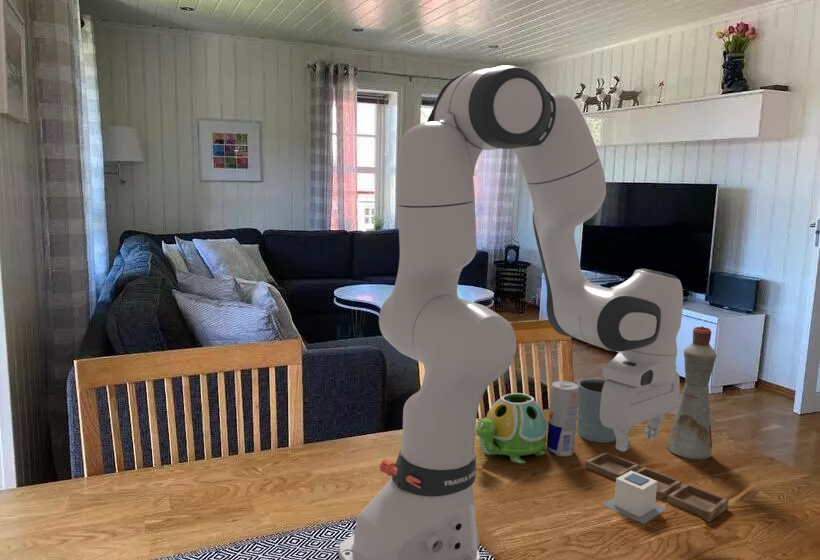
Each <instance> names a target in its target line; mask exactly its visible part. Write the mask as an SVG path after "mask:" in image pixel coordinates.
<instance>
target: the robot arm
mask: <svg viewBox="0 0 820 560" xmlns="http://www.w3.org/2000/svg"><path fill="white" fill-rule="evenodd" d="M483 150H484V151H494V150H512V151H513V152H514V154H515V155H516V157H517V158H518V160H519V162H520V163H521V168H522V171H523V174H524V177H525V181H526V185H527V186H528V190H529V195H530V198H531V201H532V207H533V213H532V225H533V231H534V236H535V241H536V246H537V249H538V254H539V259H540V262H541V268H542V271H543V275H544V280H545V285H546V315H547V320H548V322H549V324H550V325H551V328H552V329H553V330H554V331H556V332H557V333H558V334H560V335H562V336H565V337H568V338H572V339H576V340H580V341H582V342H585V343H588V344H590V345H592V346H596V347H599V348H602V349H604V350H607V351H611V352H617V354H616V355H615V356H614V357H613V358H612V359H611V360H610V361H609V362H607V363H606V364H605V365H604V366H603V368H602V378H604V379H606V381H605V383H604V385H603V389H602V395H601V404H600V420H601V423H602V425H604V426H606V427H608V428H611V429H613V430H614V433H615V437H616V440H615V449H616V450H618V451H620V452H627V451H628V450H630V449H631V442H632V441H631V439H629V437H628V433H630V428H632V427H634V426H637V425H639V424H642V423H645V422H647V421H648V423H647V426H645V427H644V433H643V435H644V437H645V438H646V439H649V440H654V439H657V438H658V436H659V432H660V431H659V430H660V428H661V425H662V423H663V422H664V419H665V415H666V414H669V413H672V412H674V411H675V410H676V409H677V407H678V406H679V405H678V404H679V399H680V398H679V396H680V382H681V381H680V380H681V379H680V374H679V372H678V371H677V365H676V364H677V356H678V346H677V338H678V337H677V335H678V334H679V332H680V329H681V324H682V315H683V307H684V306H683V304H684V292H683V291H684V290H683V286H682V282H681V280H680V279H679V278H678V277H677V276H676V275H673V274H671V273H670V274H669V273H666V272H662V271H656V270H652V269H648V268H638V269H634V271H633V273H632V275H631V276H630V277H628V279H627V280H624V281H623V282H622V283H620V284H617V285H616V286H611V287H610V288H608V287H604V286H600V285H597V284H594V283H592V282H591V281H590V280H589V279H588V278H586V277H585V275H584V274H583V273H582V268H581V264H580V263H581V262H580V259H579V254H578V250H577V245H576V244H577V243H576V240H575V231H576V228H577V227H578V226H580V225H581V224H583V223H585V222H587V221H588V220H590V219H592V217H594V215H596V213H598V211H599V210H600V208H601V206H602V205H603V203H604V201H605V198H606V195H607V185H606V177H605V172H604V169H603V165H602V162H601V158H600V156H599V152H598V150H597V146H596V143H595V141H594V137H593V135H592V132H591V130H590V129H589V126H588V124H587V121H586V120H585V118H584V115H583V113H582V112H581V110H580V108H579V107H578V104H577V103H576V102H575V100H574V99H573V98H571V97H570V96H568V95H565V94H561V93H550V92H549V91H548V90H547V88H546V87H545V85H544V84H543V83H542V80H540V79H539V78H538V76H536V75H535V74H534V73H532V72H530V71H529V70H528V69H526V68H524V67H520V66H516V65H506V64H505V65H499V66H495V67H482V68H477V69H475V70H472V71H468V72H466V73H464V74H460V75H458V76H456V77H453V79H450V80H449V81H448V82H447V83H446V84H445V85H444V86H443V87H442V89H441V90H440V92H439V93H438V95H437V98H436V100H435V103H434V105H433V108H432V110H431V112H430V114H429V116H428V119H427V120H426V121H424V122H421V123H419V124H417V125H414V126H412V127H411V128H410V129H408V130H407V131H406V132H405V133H404V134H403V136H402V137H401V140H400V143H399V150H398V155H397V156H398V157H397V165H396V166H397V167H396V204H397V221H398V222H397V223H398V237H399V242H398V243H399V260H398V269H397V274H396V279H395V283H394V288H393V290H392V293H391V294H390V295H389V296H388V297H387V298H386V299H385V301H384V302H383V304H382V306H381V308H380V310H379V315H378V325H379V330H380V333H381V334H382V336H383V338H384V339H385V340H386V341H387V342H388V343H389V344H390V345H391V346H392V347H393V348H394V349H396V350H397V351H398V352H399V353H400V354H402V355H404V356H406V357H408V358H410V359H413V360H415V361H417V362H419V363H421V364H423V368H424V369H423V370H424V374H423V379H422V383H421V385H420V388H419V391H417V392H415V393H414V394H412V395H411V396H410V397H408V399H407V400H406V402H405V403H404V406H403V409H402V410H403V412H402V414H403V415H402V435H401V436H402V437H401V438H402V440H401V441H402V443H401V449H400V451H399V454H398V456H397V458H396V461H395V462H392V461H391V460H390V459H388V458H385V459H382V460H381V462H380V463H379V466H378V467H379V471H380V472H381V473H385V474H386V475H387V476H391V478H390V479H389V481H388V482H387V483H386V484H384V486H383V487H382V488H381V490H380V491H379V492H378V493H376V495H375V496H374V497H373V498H372V499H371V501H370V502H369V503H368V504H367V505H365V507H364V508H363V509H361V511H360V512H359V514H358V516H357V519H356V522H355V528H354V534H352V535H351V536H349V537H347V538H346V539H344V540H343V541H341V542H340V543H339V545H338V550H337V553H338V557H339V559H340V560H481V554H480V551H479V548H478V547H480V536H479V531H478V528H477V517H476V515H477V514H476V504H475V496H474V485H473V484H474V483H475V481H476V474H477V473H476V472H477V457H476V453H474V452H475V451H474V449H475V438H476V437H475V436H476V428H477V426H476V425H477V417H478V409H479V406H480V403H481V400H482V398H483V395H485V392H486V390H487V388H488V387H489V386H490V385H491V384H492V383H493V382H495V381H497V380H499V379H500V378H501V377H502V376H503V375H505V373H507V371H508V369H509V368H510V366H511V365H512V363H513V362H514V358H515V355H516V351H517V350H516V349H517V338H516V333H515V330H514V328H513V325H512V324H511V323H510V322H509V321H508V320H507V319H506V318H504V317H503V316H502V315H500V314H498V313H497V312H496V311H494V310H492V309H491V308H489V307H487V306H485V305H483V304H480V303H477V302H473V301H470V300H468V299H464V298H463V299H462V298H459V295H458V284H459V279H460V277H461V276H460V275H461V272H462V271H463V268H465V267H466V266H468V265H469V264H470V263H471V262H472V260H473V259H474V258H475V256H476V254H477V245H478V244H477V224H476V223H477V222H476V221H477V220H476V219H477V218H476V216H477V215H476V200H475V199H476V196H475V194H476V193H475V183H474V176H475V170H476V169H475V168H476V165H477V162H478V159H479V157H480V155H481V153H482V152H483Z"/></svg>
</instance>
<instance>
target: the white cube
mask: <svg viewBox="0 0 820 560" xmlns="http://www.w3.org/2000/svg"><path fill="white" fill-rule="evenodd" d="M657 482H658V481H656V480H653V479H651V478H648V477H646V476H643V475H641V474H638V473H636V472H633V471H629V472H627V473H626V474H624V475H622V476H620V477H618V478H616V480H615V485H614V486H615V487H614V506H616V507H619V508H621V509H623V510H625V511H627V512H630V513H632V514H634V515H636V516H638V517H641V516H643V515H644V514H646V513H648V512H649V511H651V510H652V509H654V508H655V504H656V501H657V500H656V499H657V498H656V491H657Z"/></svg>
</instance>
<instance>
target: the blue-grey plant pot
mask: <svg viewBox="0 0 820 560" xmlns="http://www.w3.org/2000/svg"><path fill="white" fill-rule="evenodd" d="M606 380H607V379H606ZM606 380H605V379H598V378H587V379H586V378H585V379H582V380H581V379H580V381H578V382H577V385H578V386H579V388H578V389H579V396H578V408H577V422H576V425H577V426H576V430H577V431H576V433H577V435H578V436H579V437H581V438H582V439H585V440H587V441H590V442H595V443H604V444H605V443H611V442H612V443H613V442H616V437H615V433H614V430H613V429H611V428H608V427H606V426H604V425H602V423H601V420H600V404H601V395H602V389H603V385H604V383H605V381H606Z"/></svg>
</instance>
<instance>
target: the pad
mask: <svg viewBox="0 0 820 560" xmlns="http://www.w3.org/2000/svg"><path fill="white" fill-rule="evenodd" d="M601 506H604V507H605V508H608V509H610V510H612V511H615V512H616V513H619V514H621V515H623V516H626V517H627V518H629V519H631V520H634V521H636V522H638V523H640V524H642V525H645V524H646V523H648V522H649V521H651V520H652V519H654V518H656V517H657V516H659V515H660V514H661V513H664V512H665V511H666V510H667V509H668V508H667V507H664V506H662V505H659V504H658V503H655V508H654V509H652V510H651V511H649V512H648V513H646V514H644V515H643V516H641V517H638V516H636V515H634V514H632V513H630V512H627V511H625V510H623V509H621V508H619V507H616V506H614V497H612V498H610V499H608V500H606V501H605V502H602V503H601Z"/></svg>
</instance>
